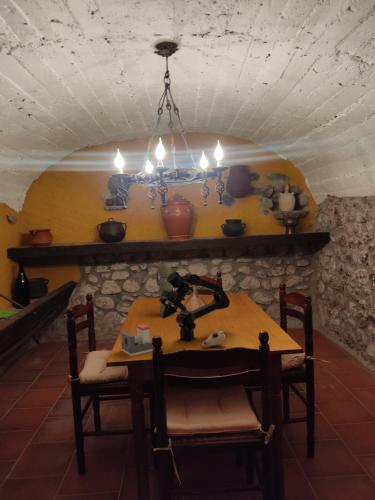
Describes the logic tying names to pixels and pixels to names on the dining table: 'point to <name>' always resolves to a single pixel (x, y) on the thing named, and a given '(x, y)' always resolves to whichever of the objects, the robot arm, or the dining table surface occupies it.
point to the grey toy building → (133, 344)
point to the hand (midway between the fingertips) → (162, 318)
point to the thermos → (164, 281)
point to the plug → (142, 334)
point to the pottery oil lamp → (214, 339)
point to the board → (137, 352)
